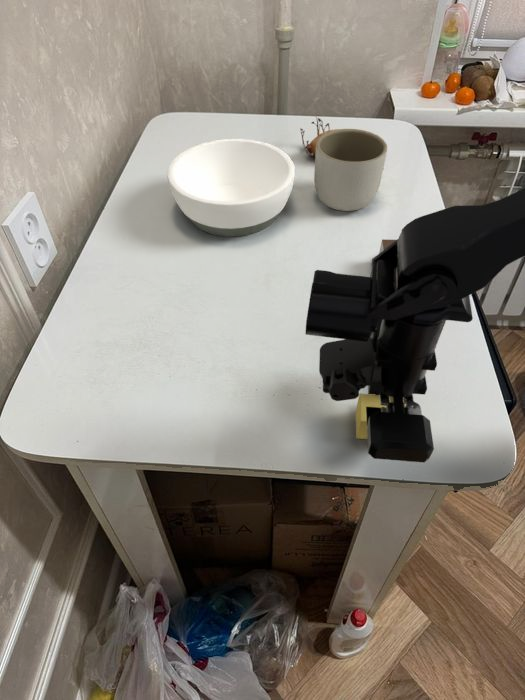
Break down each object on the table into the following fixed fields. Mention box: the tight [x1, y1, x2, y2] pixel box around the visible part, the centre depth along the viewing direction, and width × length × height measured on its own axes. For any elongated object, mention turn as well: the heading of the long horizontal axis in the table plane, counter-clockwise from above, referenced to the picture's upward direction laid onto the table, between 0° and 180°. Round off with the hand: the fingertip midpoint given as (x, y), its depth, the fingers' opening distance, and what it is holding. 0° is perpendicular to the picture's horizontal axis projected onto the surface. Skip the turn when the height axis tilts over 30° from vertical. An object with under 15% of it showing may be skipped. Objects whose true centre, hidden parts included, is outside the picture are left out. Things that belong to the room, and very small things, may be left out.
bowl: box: [167, 138, 296, 238], centre depth 91 cm, size 22×22×8 cm
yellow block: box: [355, 393, 406, 440], centre depth 61 cm, size 6×4×4 cm, turn 85°
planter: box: [313, 128, 388, 212], centre depth 92 cm, size 12×12×11 cm
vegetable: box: [299, 116, 340, 158], centre depth 104 cm, size 16×11×10 cm
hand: (381, 422), depth 62 cm, fingers closed on yellow block, 4 cm apart
